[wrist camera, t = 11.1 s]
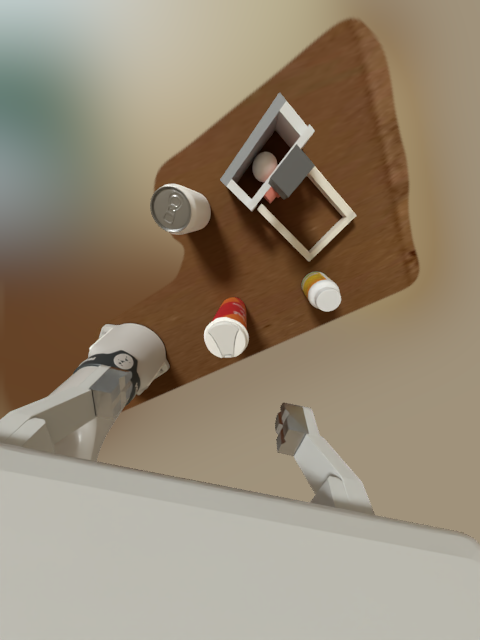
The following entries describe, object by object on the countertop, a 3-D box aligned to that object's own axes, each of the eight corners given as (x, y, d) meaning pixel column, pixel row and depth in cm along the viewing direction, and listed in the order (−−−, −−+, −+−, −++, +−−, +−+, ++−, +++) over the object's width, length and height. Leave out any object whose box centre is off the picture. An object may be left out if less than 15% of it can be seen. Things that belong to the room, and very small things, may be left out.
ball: (248, 168, 32) (246, 169, 35) (267, 188, 34) (263, 187, 37) (266, 142, 31) (262, 146, 34) (285, 165, 32) (279, 166, 35)
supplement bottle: (297, 292, 45) (306, 310, 36) (307, 267, 42) (320, 281, 34) (321, 299, 45) (336, 319, 36) (332, 275, 43) (352, 290, 34)
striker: (274, 207, 38) (282, 204, 25) (261, 195, 37) (264, 185, 25) (299, 177, 35) (322, 157, 23) (287, 163, 35) (303, 134, 22)
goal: (252, 211, 38) (251, 211, 31) (226, 185, 37) (218, 178, 30) (302, 148, 34) (314, 130, 27) (275, 116, 32) (280, 88, 25)
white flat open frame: (306, 259, 42) (309, 261, 40) (256, 209, 38) (256, 209, 36) (351, 215, 38) (356, 215, 36) (300, 155, 34) (302, 152, 33)
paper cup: (252, 322, 49) (250, 359, 36) (219, 325, 49) (207, 362, 37) (248, 290, 45) (245, 318, 33) (213, 293, 46) (197, 322, 34)
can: (217, 205, 38) (202, 200, 28) (201, 237, 41) (182, 244, 30) (185, 183, 37) (157, 170, 26) (171, 217, 40) (140, 218, 29)
